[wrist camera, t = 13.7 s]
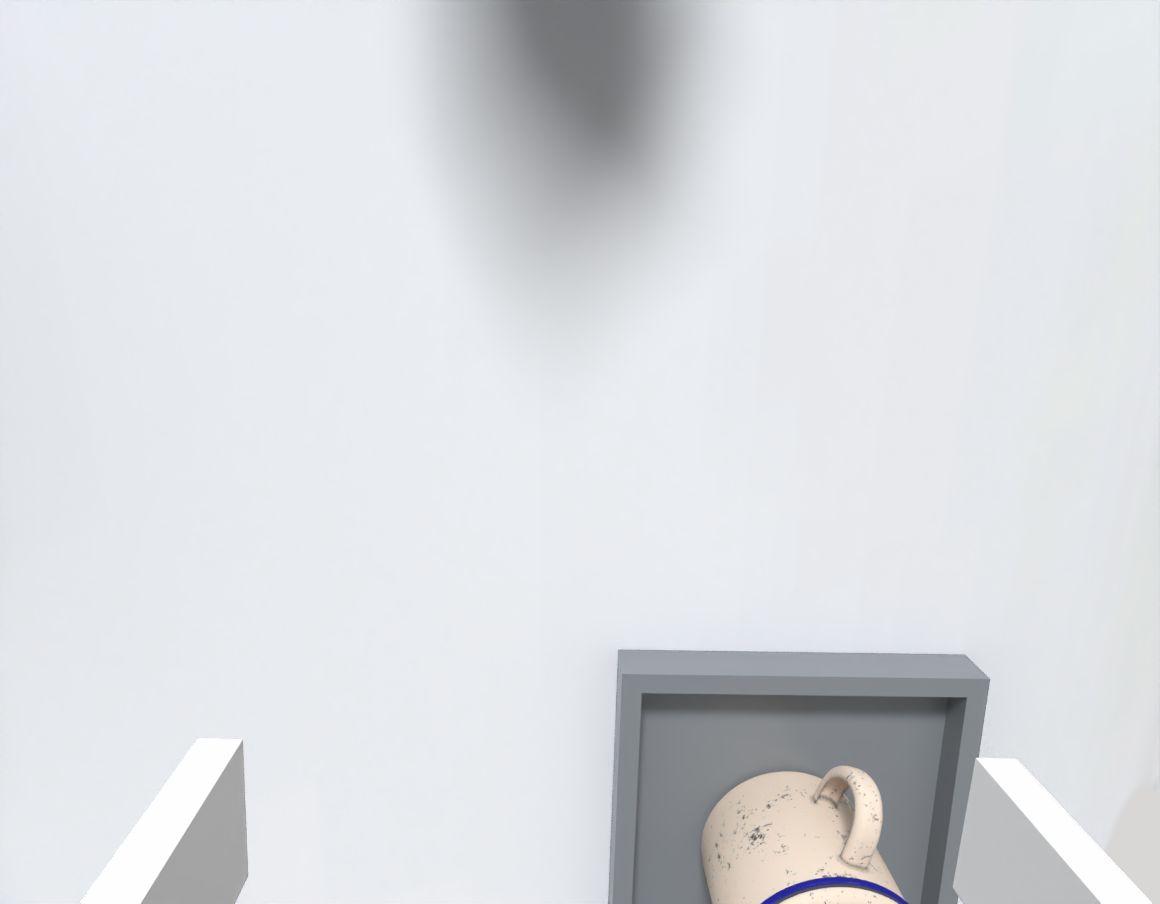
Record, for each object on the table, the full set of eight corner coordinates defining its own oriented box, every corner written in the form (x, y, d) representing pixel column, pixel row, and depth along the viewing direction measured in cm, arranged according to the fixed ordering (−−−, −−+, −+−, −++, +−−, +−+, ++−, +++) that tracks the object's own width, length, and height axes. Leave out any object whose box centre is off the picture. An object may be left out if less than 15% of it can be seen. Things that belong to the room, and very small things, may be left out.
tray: (606, 947, 47) (609, 986, 45) (618, 649, 43) (621, 674, 41) (924, 948, 48) (945, 987, 45) (964, 654, 44) (989, 679, 41)
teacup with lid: (828, 929, 46) (915, 1147, 35) (671, 889, 45) (709, 1097, 34) (911, 741, 44) (1034, 908, 32) (747, 694, 43) (815, 850, 32)
